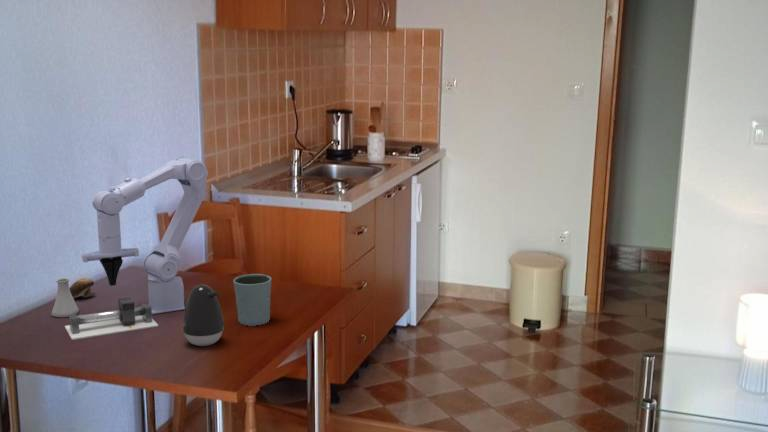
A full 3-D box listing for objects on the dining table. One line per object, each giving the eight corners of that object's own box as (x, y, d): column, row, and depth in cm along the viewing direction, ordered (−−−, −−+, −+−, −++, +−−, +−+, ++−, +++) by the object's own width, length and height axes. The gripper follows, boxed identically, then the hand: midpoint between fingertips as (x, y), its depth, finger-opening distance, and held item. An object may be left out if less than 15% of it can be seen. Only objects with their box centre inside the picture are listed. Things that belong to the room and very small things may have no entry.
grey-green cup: (279, 320, 229) (278, 278, 226) (250, 329, 221) (249, 286, 219) (256, 312, 235) (255, 271, 233) (227, 321, 228) (225, 278, 226)
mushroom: (104, 286, 248) (91, 270, 247) (84, 302, 242) (70, 285, 241) (94, 293, 253) (81, 277, 252) (74, 309, 248) (60, 293, 247)
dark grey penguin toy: (205, 352, 205) (203, 293, 202) (174, 344, 210) (172, 286, 207) (233, 340, 213) (231, 283, 210) (203, 333, 218) (201, 277, 215)
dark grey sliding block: (130, 318, 227) (129, 297, 226) (135, 323, 223) (134, 302, 222) (119, 319, 226) (118, 299, 224) (123, 325, 221) (122, 304, 220)
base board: (147, 314, 232) (147, 313, 232) (158, 326, 223) (158, 324, 223) (64, 327, 222) (64, 325, 222) (72, 340, 212) (71, 338, 212)
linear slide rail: (148, 318, 229) (147, 303, 228) (152, 323, 225) (151, 307, 224) (70, 330, 219) (68, 314, 218) (73, 335, 215) (71, 319, 215)
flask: (69, 319, 228) (67, 284, 226) (45, 317, 230) (43, 282, 228) (84, 311, 235) (82, 277, 233) (61, 309, 237) (58, 275, 235)
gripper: (133, 230, 230) (135, 277, 233) (78, 235, 223) (81, 284, 226) (139, 235, 224) (142, 283, 227) (83, 241, 217) (86, 291, 220)
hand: (112, 284), depth 226 cm, fingers closed
